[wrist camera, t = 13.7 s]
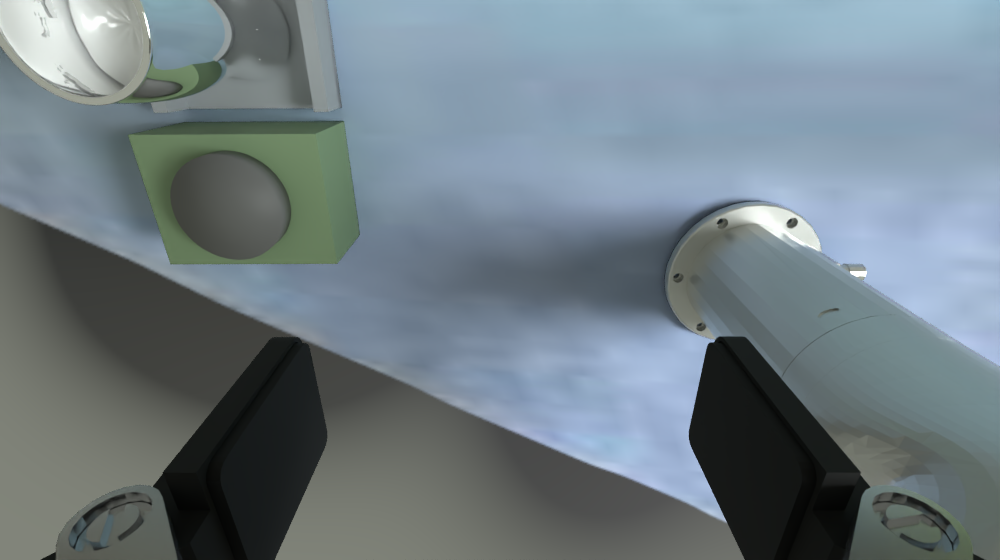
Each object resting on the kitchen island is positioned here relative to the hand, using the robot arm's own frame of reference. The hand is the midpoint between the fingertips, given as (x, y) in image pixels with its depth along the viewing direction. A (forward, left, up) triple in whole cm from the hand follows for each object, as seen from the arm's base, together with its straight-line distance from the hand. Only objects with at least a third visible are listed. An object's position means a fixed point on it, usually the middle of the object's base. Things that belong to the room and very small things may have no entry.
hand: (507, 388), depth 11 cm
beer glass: (+18, -8, -28) cm, 34 cm away
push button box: (+18, -5, -28) cm, 34 cm away
